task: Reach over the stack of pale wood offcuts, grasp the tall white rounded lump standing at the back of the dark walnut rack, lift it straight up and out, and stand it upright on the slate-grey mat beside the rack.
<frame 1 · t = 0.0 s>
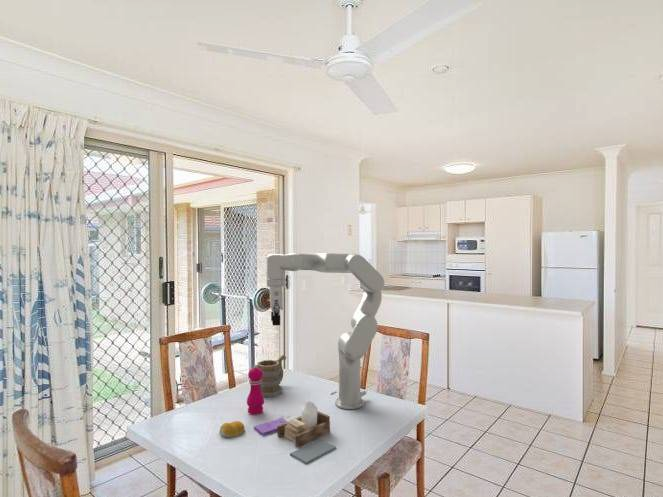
hand: (275, 322, 169), 37 cm above the table, tool pointing down, fingers open, 9 cm apart
mat: (313, 451, 136), on the table
offcut stack: (295, 438, 145), on the table
bread roll: (231, 433, 149), on the table
rack: (303, 434, 148), on the table
white tall rounded lump: (309, 432, 150), resting in rack
sponges: (272, 429, 153), on the table
pepper mill: (255, 412, 168), on the table
tankard: (273, 390, 193), on the table
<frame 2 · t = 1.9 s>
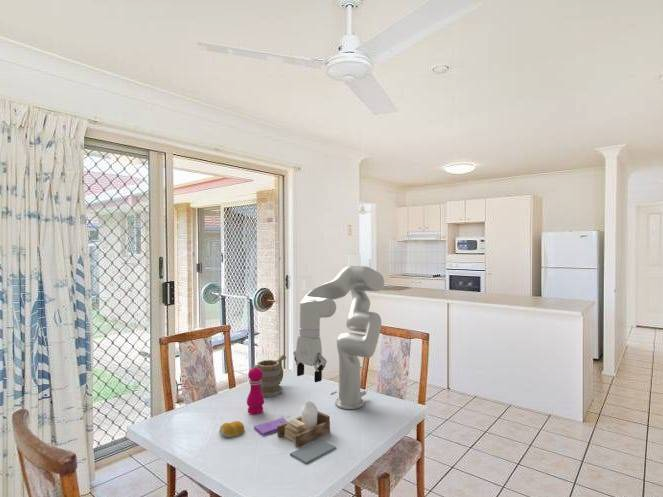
hand: (309, 378, 149), 20 cm above the table, tool pointing down, fingers open, 9 cm apart
nothing on the table moved.
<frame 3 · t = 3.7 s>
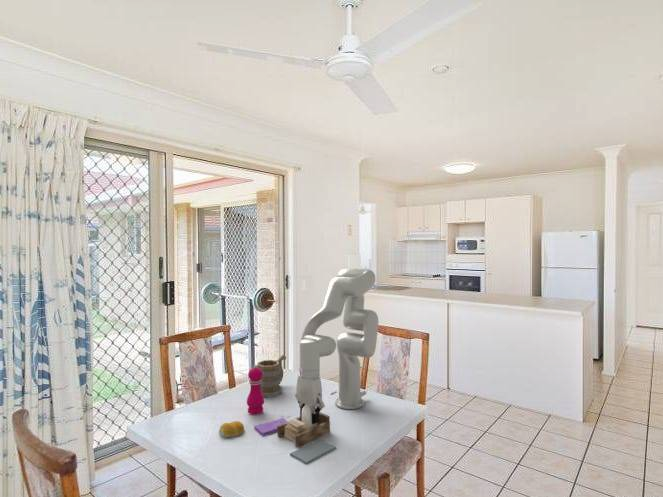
hand: (309, 419, 150), 5 cm above the table, tool pointing down, fingers closed on white tall rounded lump, 5 cm apart
white tall rounded lump: (309, 432, 150), resting in rack, touching gripper
everything else where it was.
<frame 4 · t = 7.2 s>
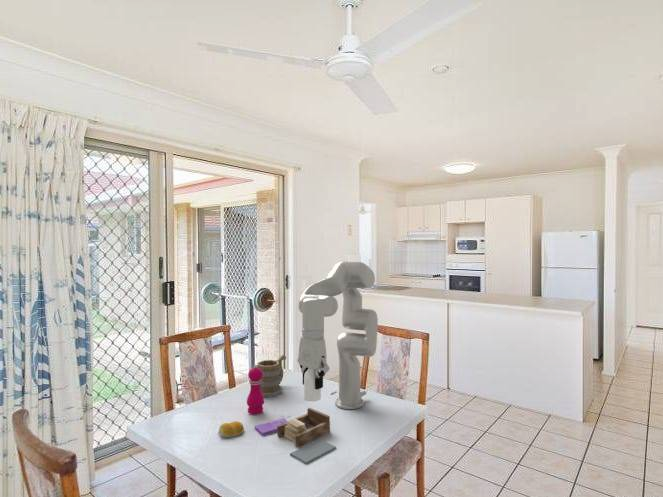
hand: (312, 385, 137), 22 cm above the table, tool pointing down, fingers closed on white tall rounded lump, 5 cm apart
white tall rounded lump: (312, 399, 137), point 17 cm above the table, touching gripper
everything else where it was.
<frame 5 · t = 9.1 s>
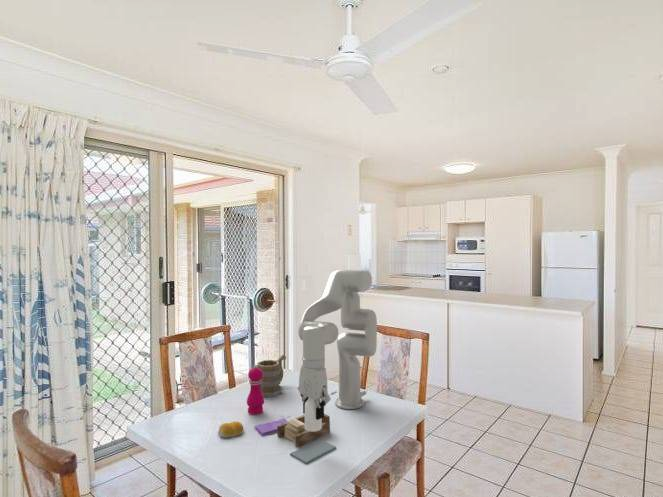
hand: (313, 415, 135), 13 cm above the table, tool pointing down, fingers closed on white tall rounded lump, 5 cm apart
white tall rounded lump: (313, 428, 135), point 8 cm above the table, touching gripper
everything else where it was.
when the fingers open (6 cm above the table, at t = 10.7 s): white tall rounded lump drops 1 cm, resting on mat.
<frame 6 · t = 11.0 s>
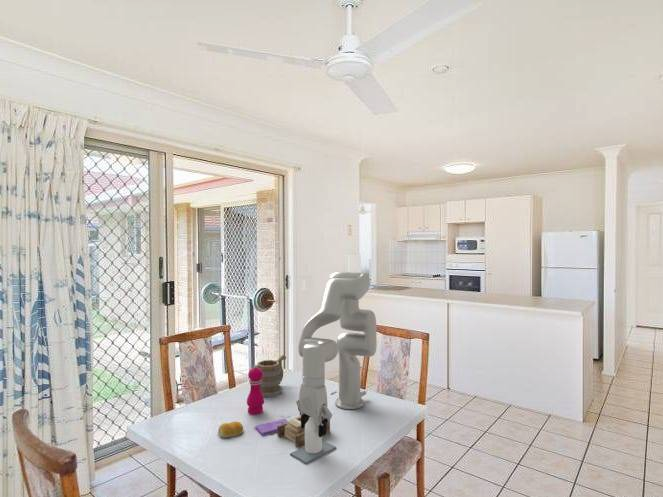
hand: (313, 431, 136), 7 cm above the table, tool pointing down, fingers open, 8 cm apart
white tall rounded lump: (313, 449, 136), resting on mat
everything else where it was.
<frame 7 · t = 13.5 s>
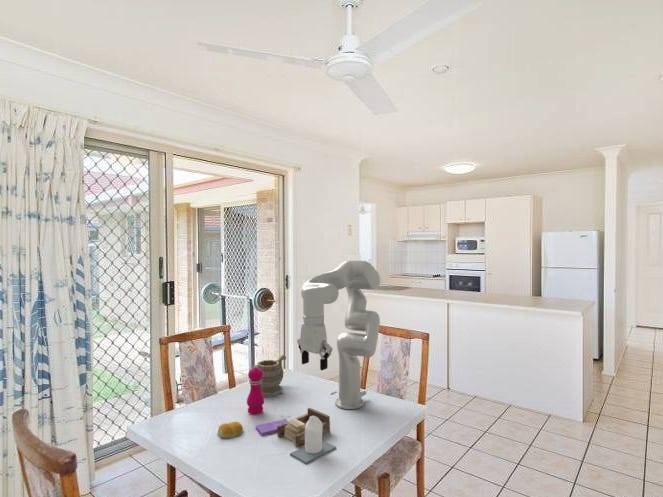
hand: (314, 366, 146), 26 cm above the table, tool pointing down, fingers open, 9 cm apart
nothing on the table moved.
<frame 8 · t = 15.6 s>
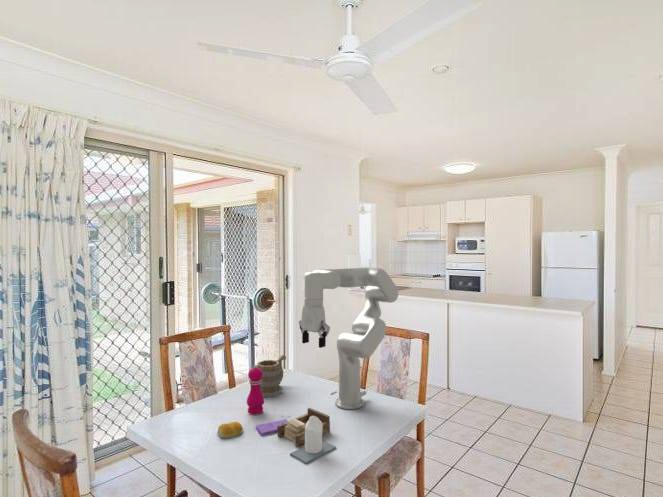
hand: (313, 344, 160), 30 cm above the table, tool pointing down, fingers open, 9 cm apart
nothing on the table moved.
at the end: white tall rounded lump inside the target area on the mat (0.2 cm from its centre), point 0.4 cm above the mat's base; white tall rounded lump tilted 1°; the gripper is holding nothing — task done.
